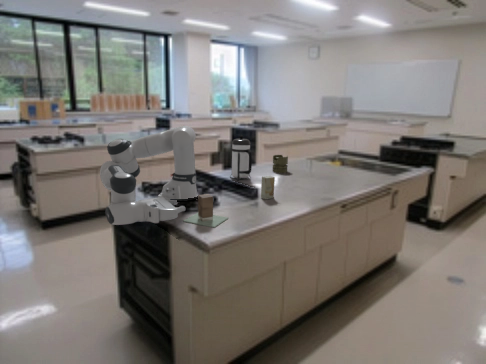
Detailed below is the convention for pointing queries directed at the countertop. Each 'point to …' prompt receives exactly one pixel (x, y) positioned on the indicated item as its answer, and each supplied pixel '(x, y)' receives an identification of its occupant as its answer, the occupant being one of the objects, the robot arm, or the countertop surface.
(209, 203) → the block
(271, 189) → the skincare box
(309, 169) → the countertop surface
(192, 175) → the robot arm
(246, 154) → the coffee press
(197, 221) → the mat
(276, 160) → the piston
